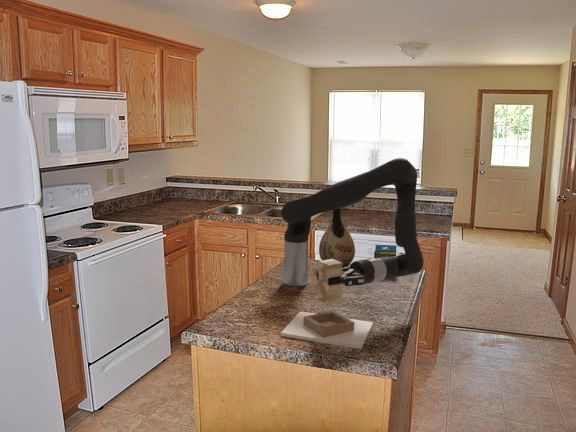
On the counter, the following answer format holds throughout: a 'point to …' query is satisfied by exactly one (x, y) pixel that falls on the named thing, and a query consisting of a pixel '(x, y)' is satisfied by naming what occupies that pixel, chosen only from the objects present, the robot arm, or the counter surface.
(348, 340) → the socket board
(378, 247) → the label tape cartridge
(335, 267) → the maple peg
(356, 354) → the counter surface
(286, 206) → the robot arm
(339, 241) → the ceramic jug
